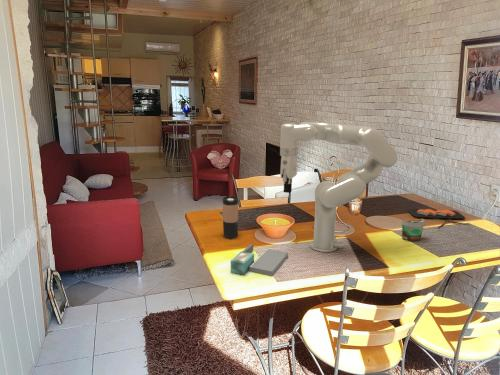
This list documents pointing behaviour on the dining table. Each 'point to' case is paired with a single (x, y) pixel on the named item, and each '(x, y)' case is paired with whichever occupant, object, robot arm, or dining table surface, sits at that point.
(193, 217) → the dining table surface
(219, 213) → the dining table surface
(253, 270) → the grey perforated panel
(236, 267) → the teal rectangular box
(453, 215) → the sushi plate
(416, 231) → the food container
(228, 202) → the travel mug
